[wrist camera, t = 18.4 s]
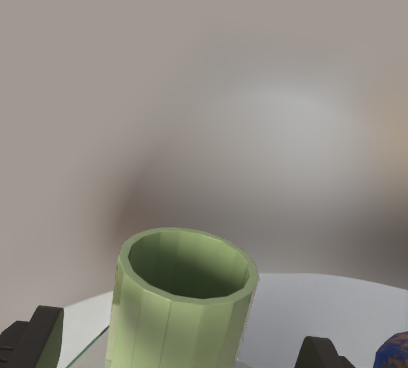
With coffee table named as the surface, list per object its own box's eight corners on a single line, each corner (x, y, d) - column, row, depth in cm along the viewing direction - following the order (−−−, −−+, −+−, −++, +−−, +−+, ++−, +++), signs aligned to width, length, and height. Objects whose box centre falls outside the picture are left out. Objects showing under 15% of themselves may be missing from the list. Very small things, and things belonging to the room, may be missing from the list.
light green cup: (72, 432, 18) (88, 266, 15) (139, 350, 23) (161, 216, 20) (189, 501, 16) (234, 327, 13) (232, 394, 21) (271, 254, 18)
